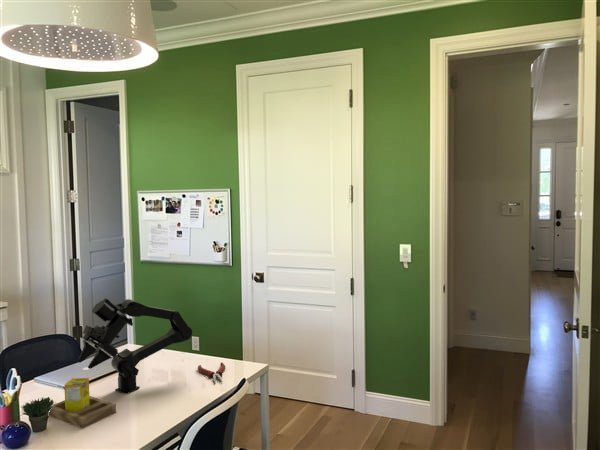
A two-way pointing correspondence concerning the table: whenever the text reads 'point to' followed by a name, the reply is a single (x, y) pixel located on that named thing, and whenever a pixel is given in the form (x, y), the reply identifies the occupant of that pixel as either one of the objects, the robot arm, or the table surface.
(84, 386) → the supplement box
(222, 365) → the pliers
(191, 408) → the table surface
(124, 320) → the robot arm
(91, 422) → the socket plate
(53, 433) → the table surface
